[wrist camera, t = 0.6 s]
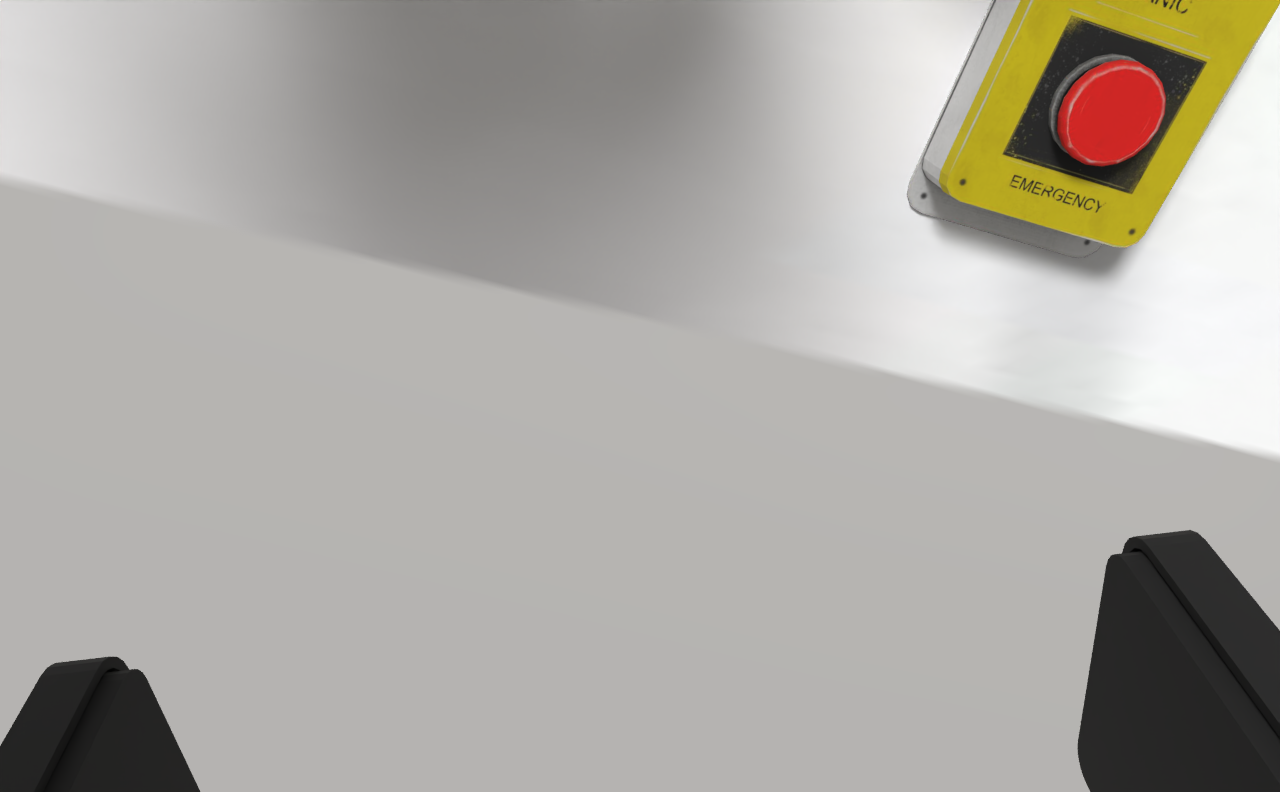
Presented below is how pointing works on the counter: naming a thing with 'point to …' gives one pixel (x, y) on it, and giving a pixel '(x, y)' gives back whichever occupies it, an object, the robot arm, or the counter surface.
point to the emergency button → (1081, 115)
